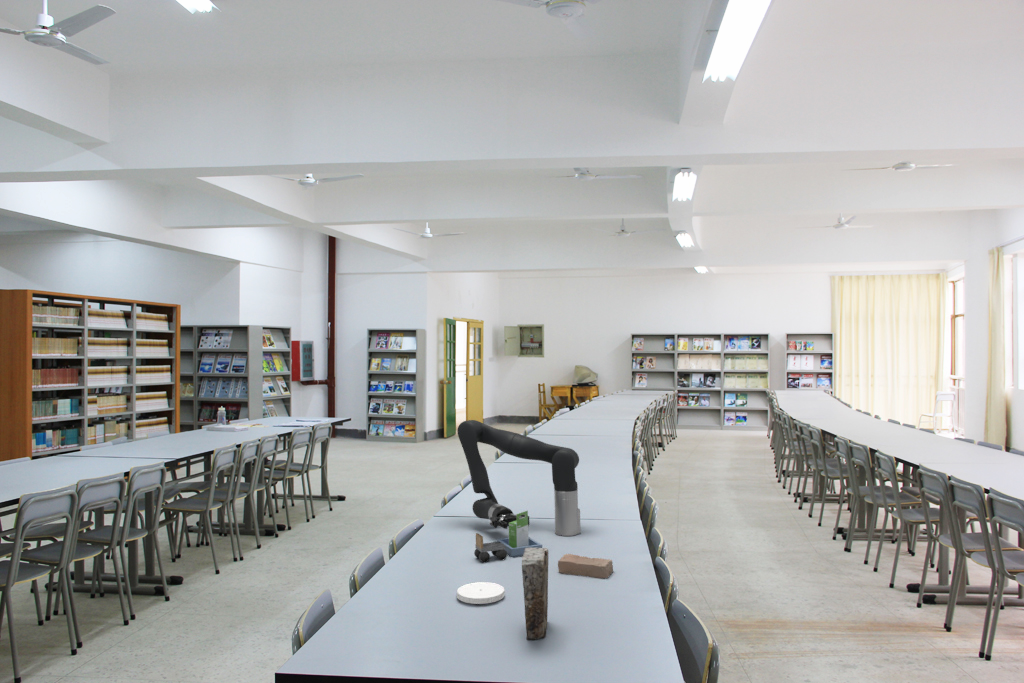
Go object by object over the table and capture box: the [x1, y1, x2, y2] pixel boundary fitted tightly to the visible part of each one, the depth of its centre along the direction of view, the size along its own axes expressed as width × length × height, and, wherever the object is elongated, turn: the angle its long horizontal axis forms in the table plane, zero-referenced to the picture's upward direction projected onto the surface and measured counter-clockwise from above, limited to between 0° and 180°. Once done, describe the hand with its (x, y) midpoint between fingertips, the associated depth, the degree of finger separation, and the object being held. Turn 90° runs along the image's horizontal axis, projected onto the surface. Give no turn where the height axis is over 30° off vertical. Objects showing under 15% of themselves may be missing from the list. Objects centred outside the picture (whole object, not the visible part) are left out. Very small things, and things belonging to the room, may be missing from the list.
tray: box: [496, 536, 543, 558], centre depth 251 cm, size 12×14×3 cm
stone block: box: [521, 547, 549, 641], centre depth 179 cm, size 13×7×20 cm, turn 178°
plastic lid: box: [456, 581, 506, 605], centre depth 204 cm, size 14×14×2 cm
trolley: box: [473, 532, 508, 563], centre depth 241 cm, size 10×6×9 cm, turn 112°
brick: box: [557, 553, 614, 579], centre depth 225 cm, size 16×8×5 cm, turn 66°
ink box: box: [508, 510, 530, 548], centre depth 251 cm, size 7×4×13 cm, turn 140°
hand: (517, 524), depth 253 cm, fingers open, 8 cm apart
